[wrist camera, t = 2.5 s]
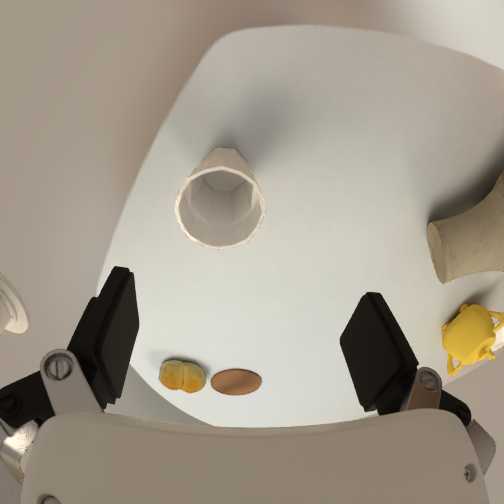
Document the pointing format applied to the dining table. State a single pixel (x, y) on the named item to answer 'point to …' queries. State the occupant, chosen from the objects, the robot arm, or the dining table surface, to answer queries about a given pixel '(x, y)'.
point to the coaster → (235, 382)
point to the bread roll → (182, 376)
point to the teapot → (470, 336)
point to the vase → (470, 238)
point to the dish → (498, 338)
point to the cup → (220, 201)
